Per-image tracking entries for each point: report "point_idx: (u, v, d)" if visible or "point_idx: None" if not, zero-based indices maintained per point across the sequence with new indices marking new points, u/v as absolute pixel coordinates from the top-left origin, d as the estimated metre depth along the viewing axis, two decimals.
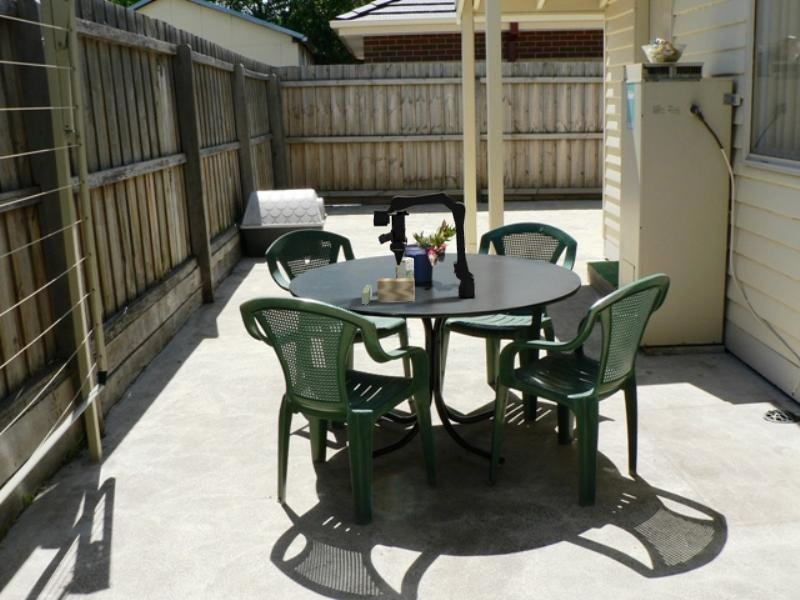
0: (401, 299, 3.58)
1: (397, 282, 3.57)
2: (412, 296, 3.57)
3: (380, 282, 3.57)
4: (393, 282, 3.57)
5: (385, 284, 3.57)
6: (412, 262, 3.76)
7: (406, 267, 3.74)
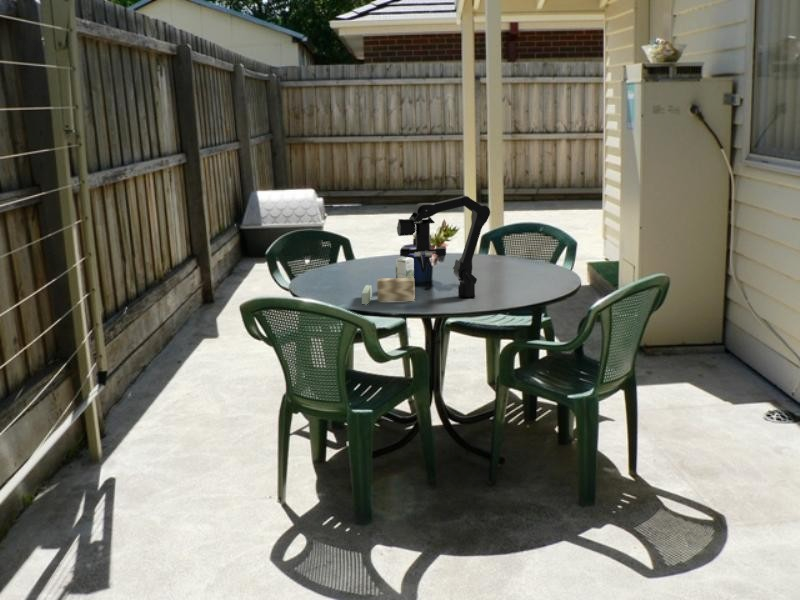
0: (401, 299, 3.58)
1: (397, 282, 3.57)
2: (412, 296, 3.57)
3: (380, 282, 3.57)
4: (393, 282, 3.57)
5: (385, 284, 3.57)
6: (412, 262, 3.76)
7: (406, 267, 3.74)
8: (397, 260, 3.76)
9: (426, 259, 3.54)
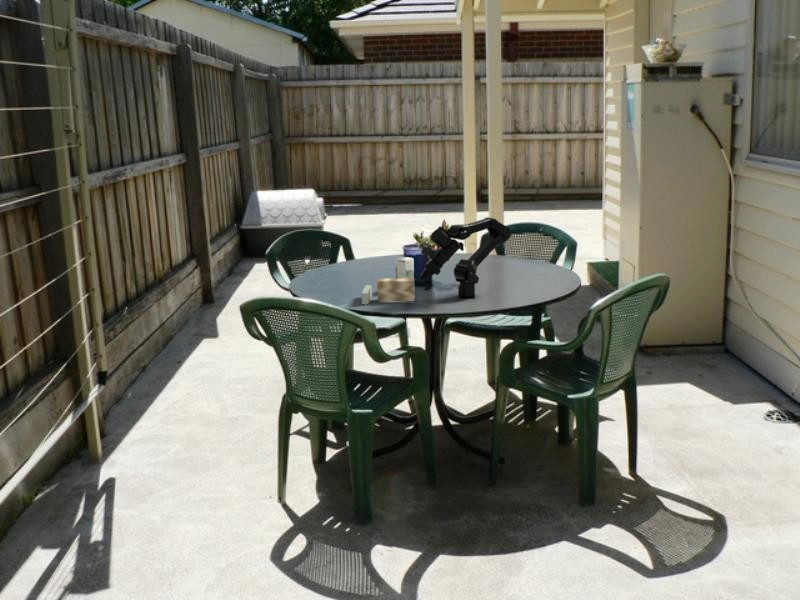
0: (401, 299, 3.58)
1: (397, 282, 3.57)
2: (412, 296, 3.57)
3: (380, 282, 3.57)
4: (393, 282, 3.57)
5: (385, 284, 3.57)
6: (412, 262, 3.76)
7: (406, 267, 3.74)
8: (397, 260, 3.76)
9: None
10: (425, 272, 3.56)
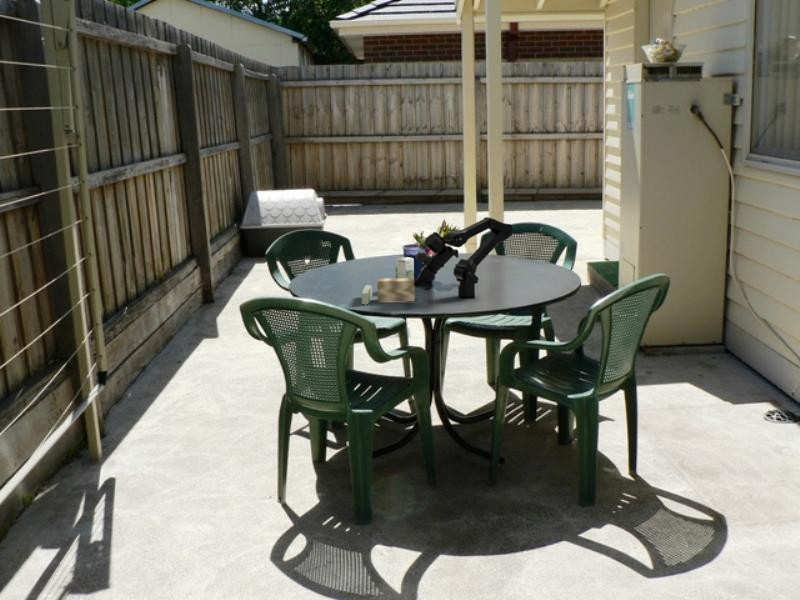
0: (401, 299, 3.58)
1: (397, 282, 3.57)
2: (412, 296, 3.57)
3: (380, 282, 3.57)
4: (393, 282, 3.57)
5: (385, 284, 3.57)
6: (412, 262, 3.76)
7: (406, 267, 3.74)
8: (397, 260, 3.76)
9: None
10: (419, 278, 3.57)
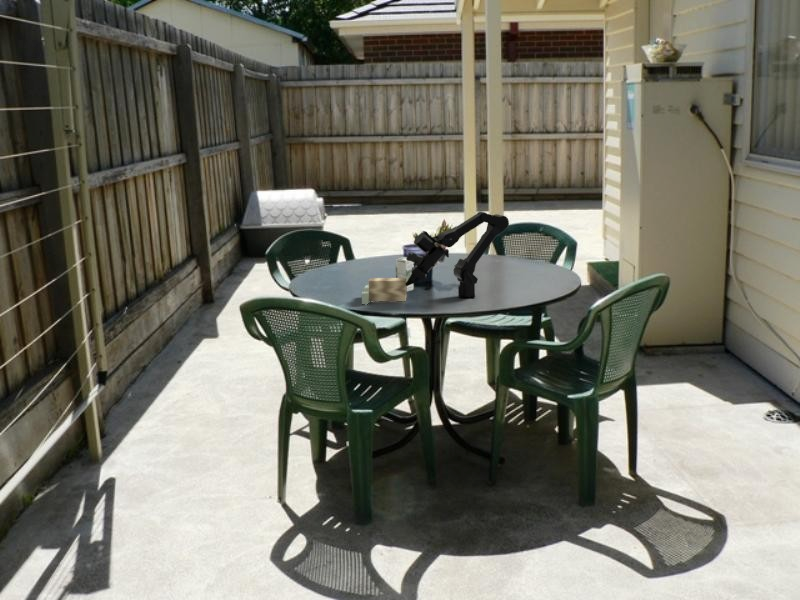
0: (393, 299, 3.58)
1: (389, 282, 3.57)
2: (404, 296, 3.58)
3: (372, 282, 3.57)
4: (385, 282, 3.57)
5: (376, 284, 3.58)
6: (412, 262, 3.76)
7: (406, 267, 3.74)
8: (397, 260, 3.76)
9: None
10: (411, 278, 3.57)
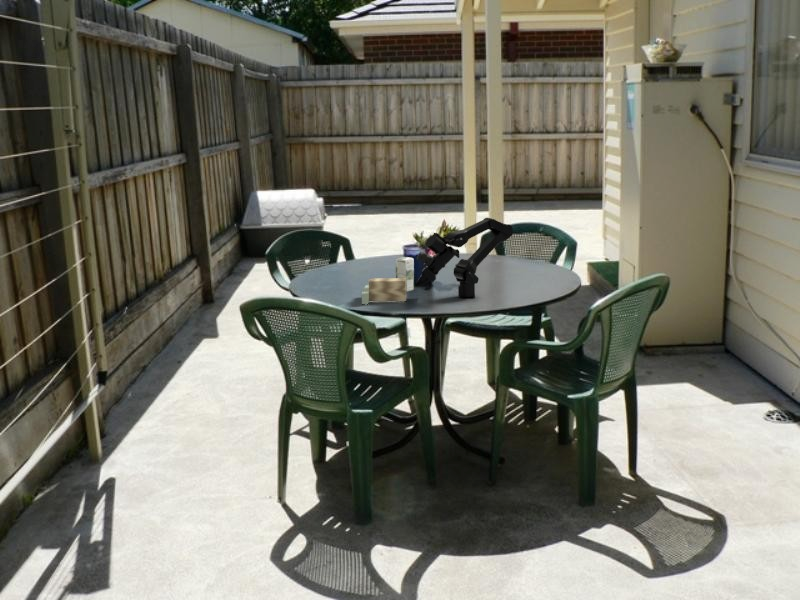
0: (393, 299, 3.58)
1: (389, 282, 3.57)
2: (404, 296, 3.58)
3: (372, 282, 3.57)
4: (385, 282, 3.57)
5: (376, 284, 3.58)
6: (412, 262, 3.76)
7: (406, 267, 3.74)
8: (397, 260, 3.76)
9: None
10: (421, 279, 3.57)
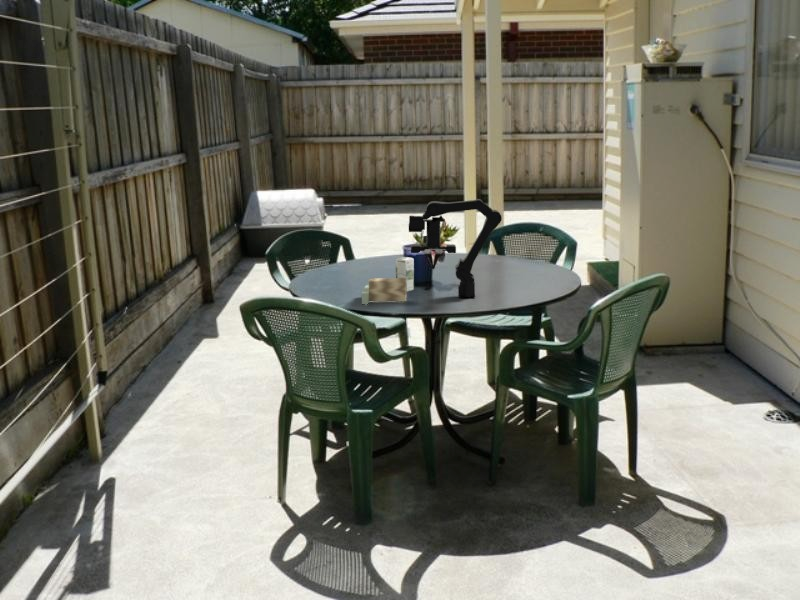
0: (393, 299, 3.58)
1: (389, 282, 3.57)
2: (404, 296, 3.58)
3: (372, 282, 3.57)
4: (385, 282, 3.57)
5: (376, 284, 3.58)
6: (412, 262, 3.76)
7: (406, 267, 3.74)
8: (397, 260, 3.76)
9: (436, 256, 3.59)
10: None
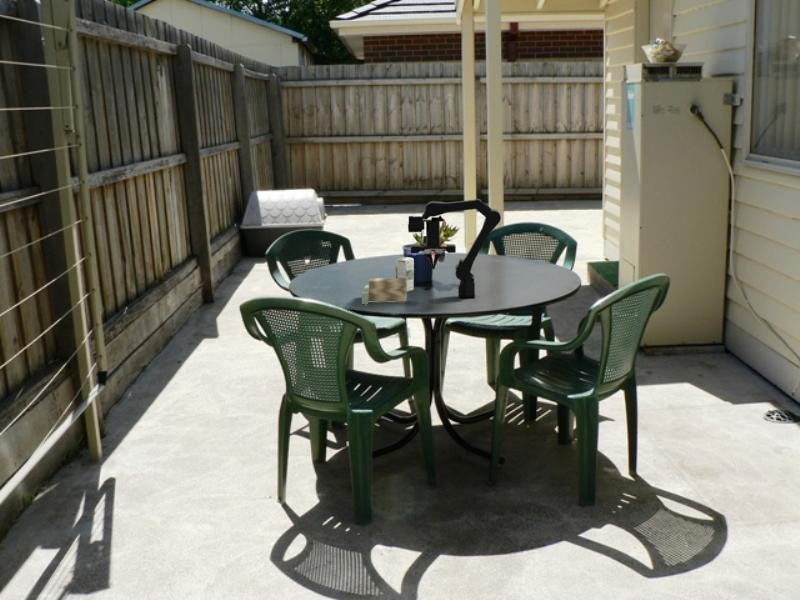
0: (393, 299, 3.58)
1: (389, 282, 3.57)
2: (404, 296, 3.58)
3: (372, 282, 3.57)
4: (385, 282, 3.57)
5: (376, 284, 3.58)
6: (412, 262, 3.76)
7: (406, 267, 3.74)
8: (397, 260, 3.76)
9: (436, 256, 3.60)
10: None
